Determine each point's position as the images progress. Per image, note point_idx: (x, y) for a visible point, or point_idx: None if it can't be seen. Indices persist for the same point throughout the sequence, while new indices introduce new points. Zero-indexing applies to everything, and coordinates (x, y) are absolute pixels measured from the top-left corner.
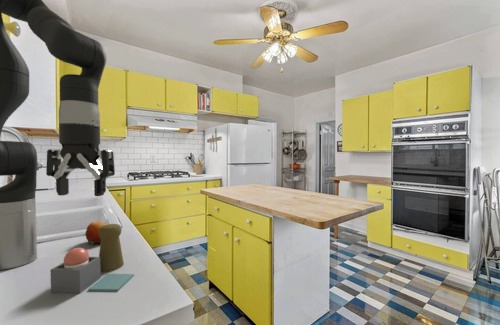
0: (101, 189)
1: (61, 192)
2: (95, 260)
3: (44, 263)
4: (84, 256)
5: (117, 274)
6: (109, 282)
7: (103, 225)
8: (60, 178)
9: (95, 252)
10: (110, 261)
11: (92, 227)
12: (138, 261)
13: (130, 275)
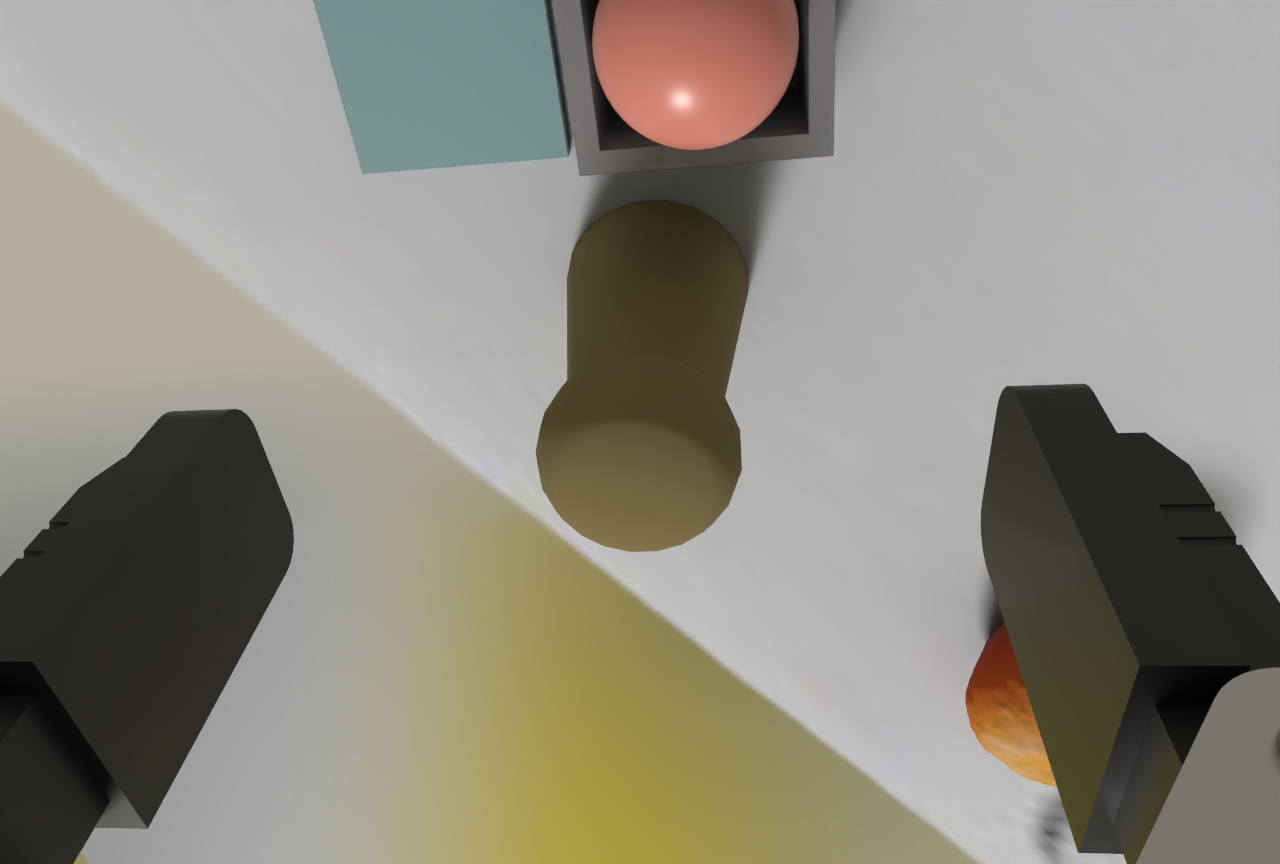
0: (61, 517)
1: (1020, 430)
2: (570, 110)
3: (1262, 281)
4: (594, 39)
5: (482, 155)
6: (445, 31)
7: (1036, 735)
8: (1190, 728)
9: (953, 477)
10: (599, 256)
11: None
12: (502, 371)
13: (371, 151)
